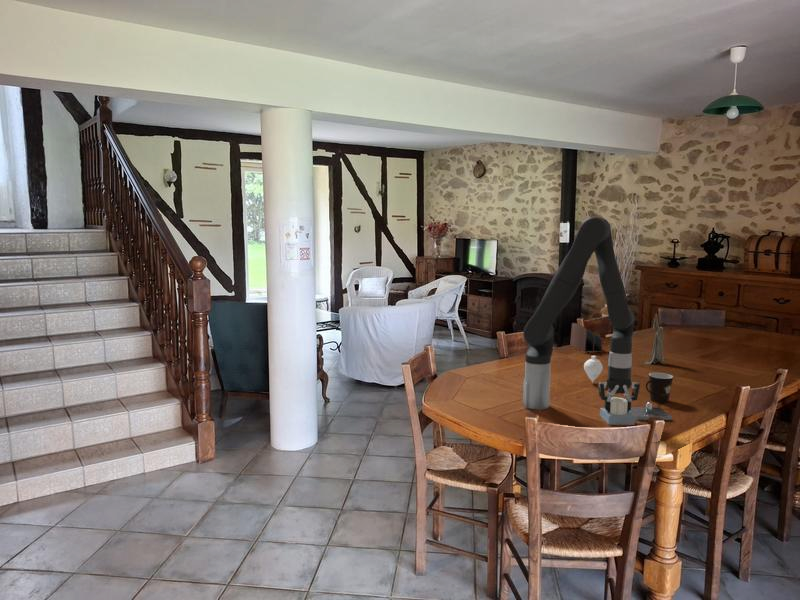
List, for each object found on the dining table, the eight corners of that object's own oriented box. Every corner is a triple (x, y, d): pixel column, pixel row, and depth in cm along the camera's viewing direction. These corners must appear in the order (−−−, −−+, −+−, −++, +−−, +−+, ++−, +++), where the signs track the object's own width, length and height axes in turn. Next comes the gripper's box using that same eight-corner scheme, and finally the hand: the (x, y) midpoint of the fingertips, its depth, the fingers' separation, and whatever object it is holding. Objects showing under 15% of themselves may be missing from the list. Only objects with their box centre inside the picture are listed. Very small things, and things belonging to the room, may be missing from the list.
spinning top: (589, 386, 241) (591, 358, 239) (579, 381, 248) (580, 354, 246) (605, 384, 243) (606, 357, 241) (594, 380, 250) (596, 353, 248)
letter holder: (584, 353, 302) (585, 327, 300) (570, 345, 321) (571, 321, 319) (602, 353, 303) (603, 327, 301) (587, 345, 322) (588, 321, 320)
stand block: (608, 424, 194) (608, 416, 194) (599, 415, 203) (600, 407, 203) (634, 424, 194) (635, 416, 194) (625, 416, 203) (625, 408, 203)
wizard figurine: (657, 366, 273) (661, 315, 270) (641, 363, 280) (644, 313, 277) (669, 363, 279) (673, 313, 276) (653, 360, 286) (656, 311, 283)
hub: (637, 420, 199) (637, 406, 198) (626, 411, 208) (627, 397, 208) (671, 420, 198) (672, 406, 198) (659, 411, 208) (660, 398, 208)
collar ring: (611, 414, 195) (612, 402, 195) (605, 409, 201) (606, 397, 201) (629, 414, 195) (629, 402, 195) (622, 409, 201) (623, 397, 201)
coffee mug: (664, 397, 225) (666, 372, 224) (675, 403, 217) (677, 378, 216) (635, 397, 225) (637, 372, 224) (645, 404, 217) (647, 378, 215)
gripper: (602, 367, 193) (600, 414, 195) (645, 367, 192) (642, 415, 194) (595, 361, 200) (593, 407, 202) (636, 362, 200) (634, 408, 202)
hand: (617, 411), depth 198 cm, fingers closed on collar ring, 6 cm apart
